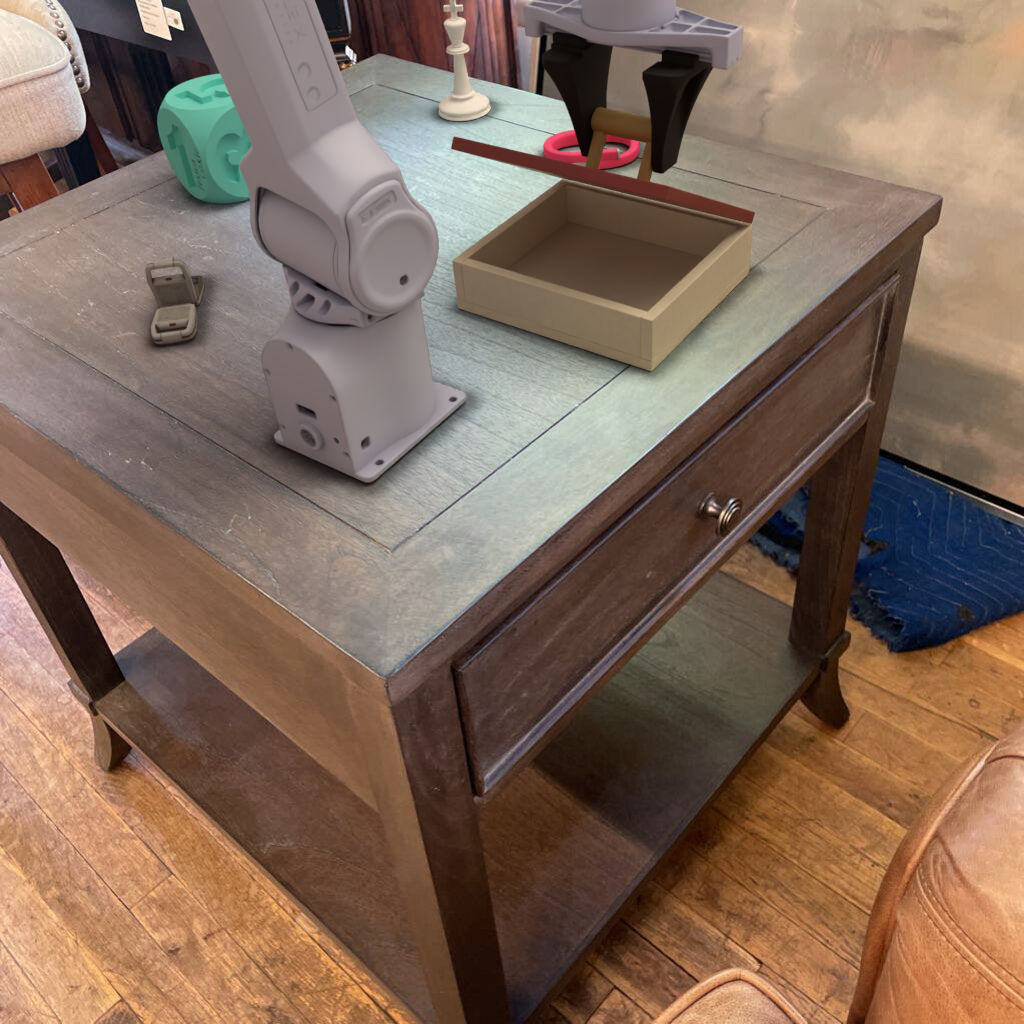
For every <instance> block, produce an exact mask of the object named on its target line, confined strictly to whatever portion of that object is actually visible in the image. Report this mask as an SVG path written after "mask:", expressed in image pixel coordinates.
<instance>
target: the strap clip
mask: <svg viewBox="0 0 1024 1024" xmlns="http://www.w3.org/2000/svg"><path fill="white" fill-rule="evenodd" d="M170 268H179V269H180V270H181V272H182V273H177V274H171V275H164V276H155V277H153V276H152V271H155V270H162V269H170ZM144 272H145V279H146V283H147V285H148V287H149V288H150V291H151V293H152V295H153V297H154V299H155V301H156V303H157V305H158V306H159V307H160V308H157V309H156V310H155V312H154V316H153V319H152V321H151V325H150V331H151V337H152V341H153V343H154V344H156V345H160V344H161V345H162V344H164V345H165V344H171V343H177V342H184V341H188V340H191V339H193V338H194V336H195V335H196V334H197V332H198V318H199V317H198V316H199V314H198V311H197V309H196V306H199V305H200V304H201V301H202V297H203V294H204V290H205V283H204V278H203V276H202V275H199V274H198V275H192V274H191V271H190V270H189V268H188V266H187V264H186V263H185V262H184V260H182V259H175V257H167V258H160V259H154V260H153V262H150V263H146V265H145V268H144Z"/></svg>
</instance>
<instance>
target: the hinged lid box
mask: <svg viewBox="0 0 1024 1024" xmlns="http://www.w3.org/2000/svg"><path fill="white" fill-rule="evenodd" d="M753 231H754V224H753V223H752V224H749V223H745V222H741V221H737V220H733V219H729V218H724V217H720V216H716V215H712V214H708V213H704V212H699V211H695V210H691V209H687V208H683V207H679V206H675V205H670V204H666V203H662V202H658V201H654V200H650V199H646V198H641V197H637V196H633V195H629V194H625V193H621V192H616V191H612V190H608V189H604V188H600V187H596V186H592V185H587V184H583V183H579V182H575V181H571V180H567V179H562V178H561V179H560V180H559V181H557V182H556V183H555V184H553V185H552V186H551V187H549V188H548V189H547V190H545V191H544V192H543V193H542V194H540V195H538V196H537V197H536V198H535V199H532V201H530V202H529V203H528V204H527V205H525V206H523V207H522V208H521V209H519V210H517V212H515V213H514V214H513V215H511V216H510V217H508V218H507V219H506V220H505V221H503V222H502V223H500V224H499V225H497V226H496V227H495V228H494V229H492V230H491V231H489V233H487V234H486V235H484V236H483V237H482V238H480V239H479V240H478V241H476V242H475V243H473V244H472V245H471V246H470V247H468V248H467V249H466V250H464V251H462V252H461V253H459V255H456V257H454V258H453V259H452V260H451V263H452V265H451V266H452V271H453V278H454V287H455V294H456V301H457V308H458V309H459V310H463V311H464V312H465V311H466V312H468V313H472V314H474V315H478V316H481V317H484V318H486V319H490V320H492V321H495V322H499V323H502V324H505V325H508V326H511V327H514V328H517V329H520V330H523V331H525V332H526V331H527V332H530V333H533V334H536V335H539V336H541V337H545V338H548V339H551V340H554V341H557V342H560V343H563V344H566V345H569V346H572V347H575V348H578V349H581V350H583V351H584V350H585V351H586V352H590V353H593V354H596V355H600V356H602V357H606V358H609V359H612V360H614V361H618V362H621V363H624V364H627V365H630V366H633V367H636V368H639V369H643V370H645V371H648V372H653V371H654V370H655V369H656V368H657V367H658V366H659V365H660V364H661V363H662V362H663V361H664V360H665V359H666V358H667V357H668V356H669V355H670V354H671V353H672V352H673V351H674V350H675V349H676V348H677V347H678V346H679V345H680V344H681V343H682V342H683V340H685V339H686V338H687V337H688V336H689V334H691V333H692V331H693V330H695V328H696V327H697V326H698V325H699V324H701V323H702V321H704V319H705V318H706V317H707V316H709V315H710V313H711V312H713V311H714V310H715V308H717V307H718V305H720V304H721V302H723V300H725V299H726V298H727V296H728V295H729V294H730V293H731V292H733V290H734V289H735V288H736V287H737V286H739V284H740V283H742V281H743V280H744V279H745V278H746V277H747V276H748V275H749V274H750V266H751V265H750V264H751V256H752V255H751V254H752V243H753Z"/></svg>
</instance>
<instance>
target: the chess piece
mask: <svg viewBox="0 0 1024 1024" xmlns="http://www.w3.org/2000/svg"><path fill="white" fill-rule="evenodd" d="M448 2H449V4H444V5H443V6H442V8H443V12H444V13H450V17H449V18H447V19H446V20H444V21H443V27H444V29H445V31H446V33H447V36H448V39H449V41H450V43H451V44H449V45H448V46H447V47H446V50H445V52H446V54H448V55H450V56H453V57H452V58H453V88H452V91H451V92H450V94H449V95H448V96H446V97H444V98H443V99H442V100H441V101H440V102H439V103H438V115H439V116H440V118H442V119H444V120H446V121H452V122H466V121H467V122H468V121H474V120H477V119H479V118H482V117H484V116H486V115H487V114H488V113H489V112H490V111H491V109H492V106H491V104H490V99H489V97H488V96H486V95H484V94H483V93H478V92H476V91H475V90H474V89H473V88H472V85H471V82H470V78H469V74H468V69H467V65H466V64H467V63H466V59H465V55H464V54H467V53H469V52H470V46H469V44H467V43H464V42H463V41H464V38H465V31H466V26H467V20H466V19H465V18H464V17H461V16H458V12H461V13H462V12H464V4H457V0H449V1H448Z"/></svg>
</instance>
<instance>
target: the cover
mask: <svg viewBox="0 0 1024 1024" xmlns="http://www.w3.org/2000/svg"><path fill="white" fill-rule="evenodd" d="M591 127H592V130H593V131H594V133H593V137H592V141H591V145H590V149H589V153H588V158H587V162H586V166H585V167H584V166H580V165H576V164H571V163H567V162H563V161H558V160H554V159H550V158H546V157H545V156H540V155H536V154H532V153H527V152H525V151H524V152H523V151H519V150H515V149H511V148H507V147H502V146H498V145H493V144H489V143H485V142H480V141H477V140H472V139H468V138H463V137H458V136H453V137H452V142H451V147H450V150H453V151H457V152H460V153H464V154H469V155H472V156H476V157H480V158H484V159H487V160H490V161H495V162H499V163H501V164H506V165H508V166H509V165H510V166H513V167H517V168H520V169H525V170H528V171H532V172H536V173H540V174H544V175H547V176H551V177H554V178H559V179H561V180H562V179H566V180H570V181H573V182H578V183H582V184H586V185H590V186H594V187H598V188H603V189H607V190H611V191H615V192H619V193H623V194H627V195H632V196H636V197H640V198H644V199H648V200H652V201H656V202H661V203H665V204H669V205H673V206H677V207H681V208H685V209H690V210H694V211H698V212H702V213H706V214H710V215H715V216H719V217H723V218H727V219H731V220H735V221H739V222H744V223H749V224H753V222H754V218H755V215H756V212H755V211H753V210H750V209H746V208H743V207H739V206H736V205H733V204H729V203H726V202H723V201H720V200H717V199H713V198H710V197H706V196H703V195H699V194H696V193H693V192H690V191H687V190H683V189H680V188H676V187H674V186H670V185H666V184H662V183H658V182H653V181H651V179H652V175H653V173H654V172H653V169H652V162H651V117H650V116H647V115H642V114H637V113H632V112H628V111H623V110H622V111H621V110H617V109H612V108H608V107H607V108H602V107H598V108H597V109H596V110H595V111H594V113H593V115H592V119H591ZM607 135H611V136H616V137H620V138H625V139H630V140H634V141H639V143H640V142H641V143H644V144H645V145H644V150H643V153H642V157H641V161H640V165H639V169H638V173H637V177H631V176H627V175H622V174H618V173H614V172H610V171H606V170H603V169H599V165H600V161H601V157H602V153H603V150H604V148H605V147H604V145H605V146H606V143H605V140H606V136H607Z"/></svg>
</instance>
